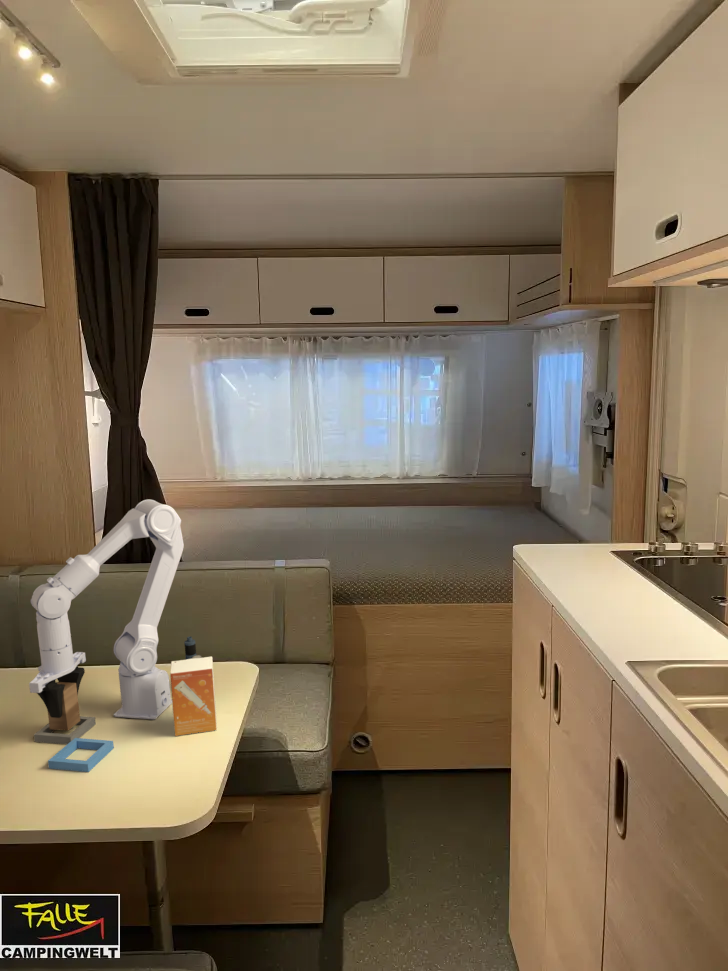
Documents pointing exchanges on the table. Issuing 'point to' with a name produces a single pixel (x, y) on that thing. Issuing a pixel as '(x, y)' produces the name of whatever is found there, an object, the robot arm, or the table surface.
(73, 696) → the walnut peg
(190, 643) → the vaping device
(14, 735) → the table surface
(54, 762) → the blue rim cradle
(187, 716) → the small box
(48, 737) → the frame
